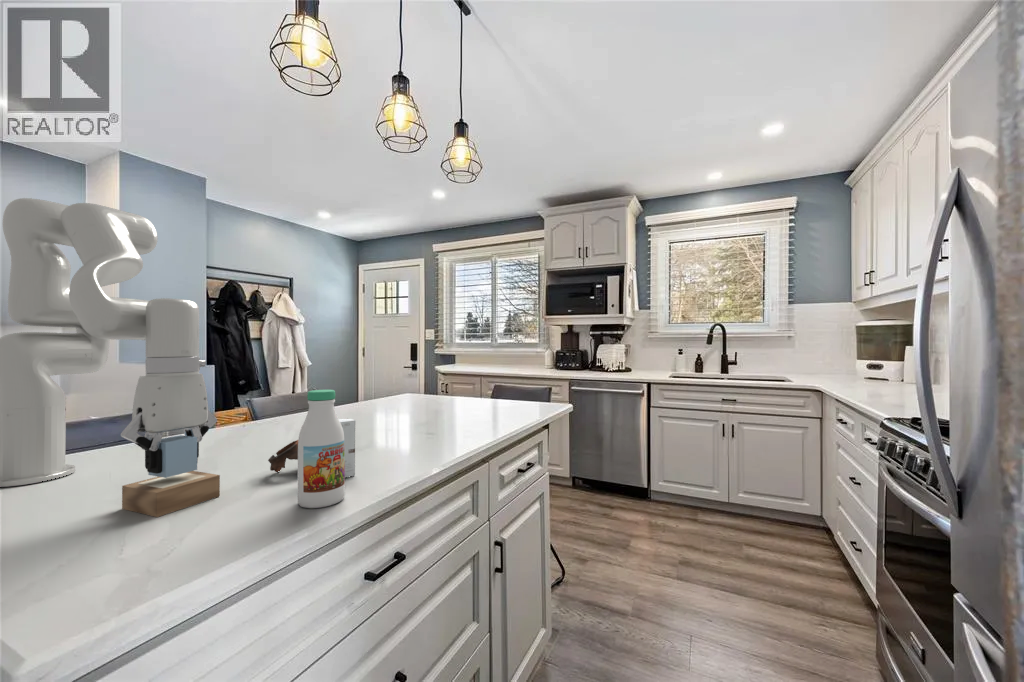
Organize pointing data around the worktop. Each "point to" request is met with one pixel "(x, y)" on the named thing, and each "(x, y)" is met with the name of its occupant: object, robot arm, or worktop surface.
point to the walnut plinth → (170, 493)
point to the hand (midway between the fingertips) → (173, 466)
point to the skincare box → (349, 445)
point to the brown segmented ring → (284, 456)
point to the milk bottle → (321, 453)
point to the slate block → (177, 455)
